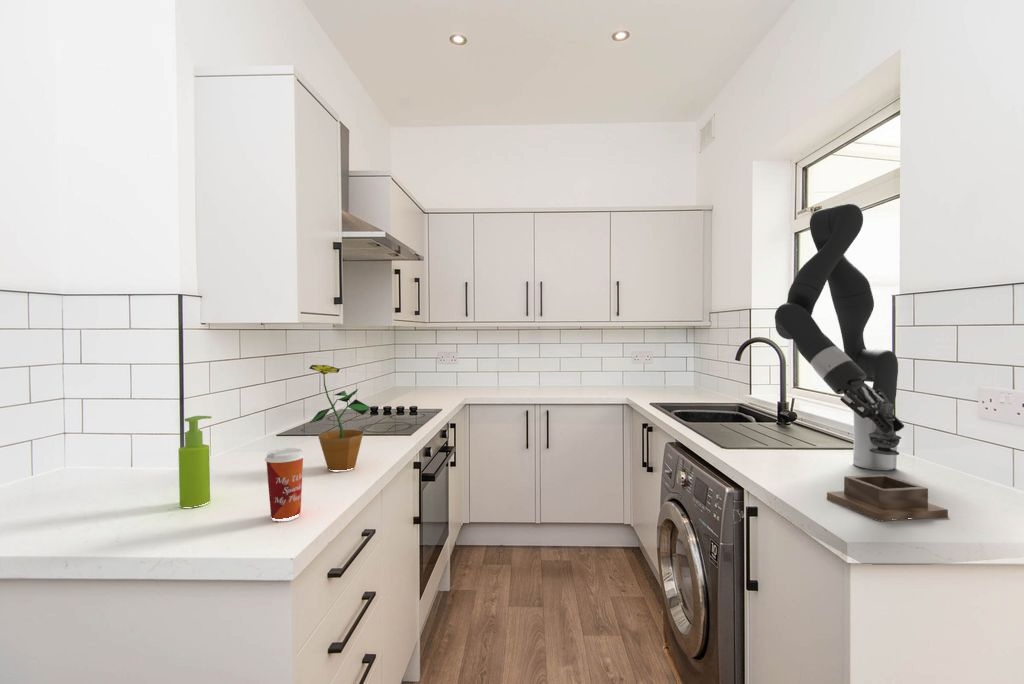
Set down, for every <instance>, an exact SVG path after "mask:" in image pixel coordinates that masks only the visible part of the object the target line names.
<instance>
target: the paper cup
mask: <svg viewBox="0 0 1024 684" xmlns="http://www.w3.org/2000/svg"><path fill="white" fill-rule="evenodd" d="M304 458H305V454H304V453H303V451H302V449H301V448H298V447H297V448H296V447H287V448H285V447H284V448H279V449H274V450H271V451H268V452H267V453H266V457H265V458H264V461H265V462H266V473H267V485H268V497H269V498H268V499H269V506H270V507H269V508H270V509H269V510H270V517H272V518H275V519H283V518H289V517H292V516H295V515H297V514H299V513H300V514H301V510H302V509H301V507H302V491H303V490H302V489H303V465H304V462H303V461H304Z"/></svg>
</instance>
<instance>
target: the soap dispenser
mask: <svg viewBox="0 0 1024 684" xmlns="http://www.w3.org/2000/svg"><path fill="white" fill-rule="evenodd" d="M204 419H205V420H206V419H212V416H211V415H193V416H191V417H190V416H189V417H186V418H184V422H186V423H188V430H187V431H186V432H184V446H181V447H180V448H178V484H179V485H178V487H179V507H180V506H181V507H194V506H199V505H202V504H205V503H207V502H209V501H210V502H211V483H210V482H211V478H210V477H211V475H210V472H211V471H210V470H211V469H210V468H211V467H210V445H209V444H204V443H203V441H204V440H203V438H204V437H203V430H200V429H199V420H204Z"/></svg>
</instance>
